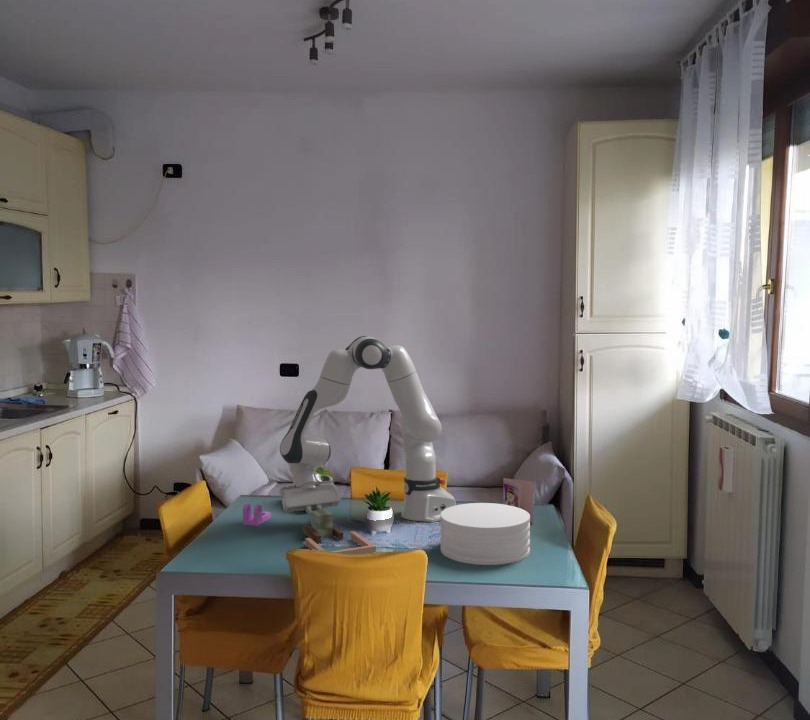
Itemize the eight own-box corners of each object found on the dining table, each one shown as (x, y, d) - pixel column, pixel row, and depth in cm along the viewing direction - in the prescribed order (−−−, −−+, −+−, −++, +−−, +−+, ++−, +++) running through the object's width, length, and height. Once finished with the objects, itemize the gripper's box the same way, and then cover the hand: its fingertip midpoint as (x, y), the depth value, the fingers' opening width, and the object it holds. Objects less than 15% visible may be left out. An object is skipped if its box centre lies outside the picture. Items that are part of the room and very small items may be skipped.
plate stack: (436, 537, 262) (436, 503, 261) (519, 535, 264) (520, 501, 263) (445, 566, 234) (445, 528, 234) (538, 564, 236) (539, 526, 235)
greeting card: (501, 519, 282) (501, 478, 281) (519, 517, 285) (519, 476, 284) (517, 528, 272) (518, 485, 270) (536, 525, 275) (536, 483, 273)
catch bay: (354, 538, 261) (354, 531, 261) (375, 554, 246) (375, 546, 245) (305, 545, 254) (305, 538, 254) (323, 562, 238) (323, 554, 238)
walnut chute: (328, 528, 272) (328, 521, 272) (343, 540, 260) (343, 532, 259) (303, 532, 268) (303, 525, 268) (317, 544, 256) (316, 536, 255)
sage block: (325, 531, 269) (325, 508, 268) (332, 537, 263) (332, 513, 262) (311, 533, 267) (311, 510, 266) (318, 539, 261) (318, 515, 260)
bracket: (257, 526, 277) (257, 506, 276) (243, 524, 278) (242, 505, 278) (273, 515, 289) (273, 497, 289) (259, 514, 291) (259, 496, 290)
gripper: (279, 482, 271) (288, 517, 263) (335, 476, 280) (346, 510, 272) (276, 492, 275) (285, 527, 267) (331, 485, 284) (341, 519, 276)
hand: (316, 518), depth 270 cm, fingers closed
